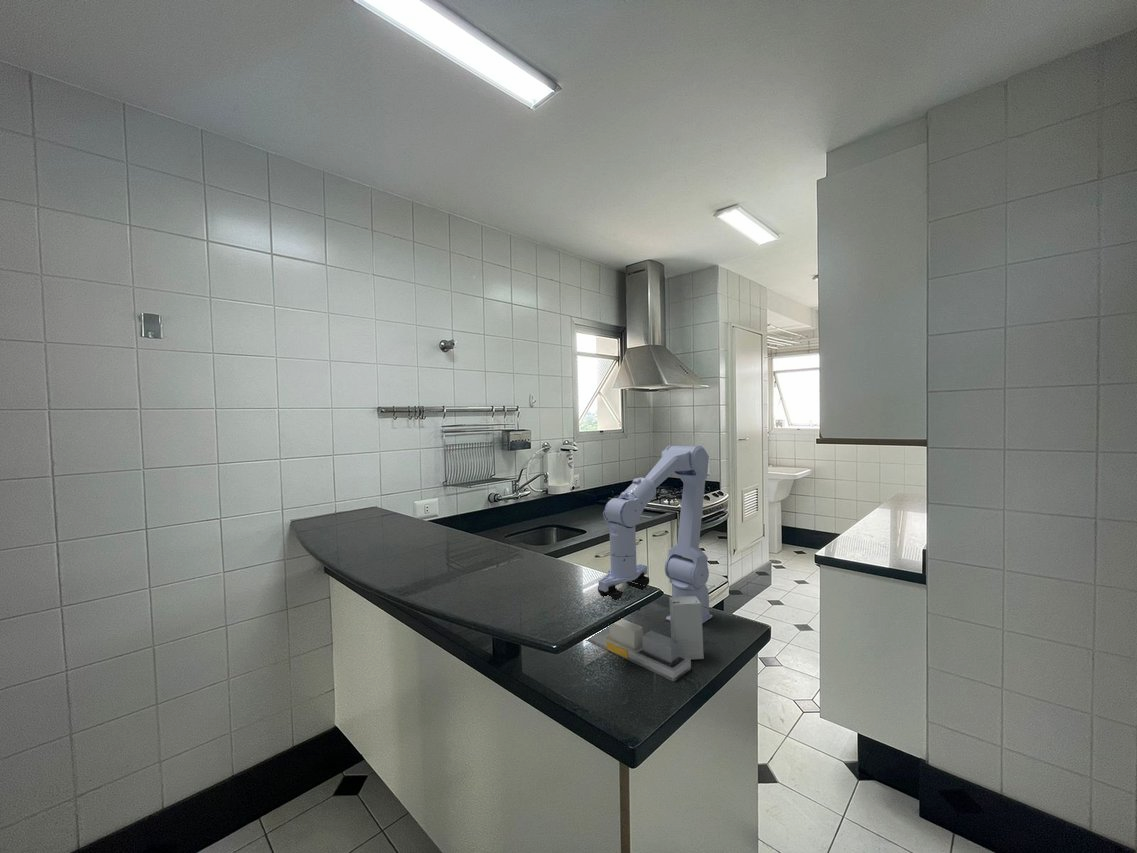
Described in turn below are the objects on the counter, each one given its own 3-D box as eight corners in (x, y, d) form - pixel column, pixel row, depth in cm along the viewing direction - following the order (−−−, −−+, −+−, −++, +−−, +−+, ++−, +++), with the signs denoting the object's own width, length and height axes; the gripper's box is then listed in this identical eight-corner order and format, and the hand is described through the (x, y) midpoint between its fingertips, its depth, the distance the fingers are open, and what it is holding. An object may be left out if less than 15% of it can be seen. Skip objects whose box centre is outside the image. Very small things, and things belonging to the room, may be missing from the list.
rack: (589, 624, 109) (588, 602, 109) (690, 669, 88) (690, 641, 88) (571, 633, 105) (570, 610, 105) (673, 682, 84) (672, 653, 84)
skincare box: (698, 649, 96) (696, 594, 96) (704, 660, 91) (702, 603, 91) (670, 650, 96) (668, 595, 96) (675, 661, 91) (673, 603, 91)
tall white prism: (618, 638, 100) (618, 617, 100) (643, 649, 95) (642, 626, 95) (610, 643, 98) (609, 621, 98) (634, 655, 93) (634, 631, 93)
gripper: (629, 543, 104) (631, 599, 105) (587, 557, 95) (589, 619, 95) (654, 548, 99) (655, 607, 99) (611, 564, 89) (614, 629, 89)
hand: (625, 614), depth 97 cm, fingers open, 7 cm apart
